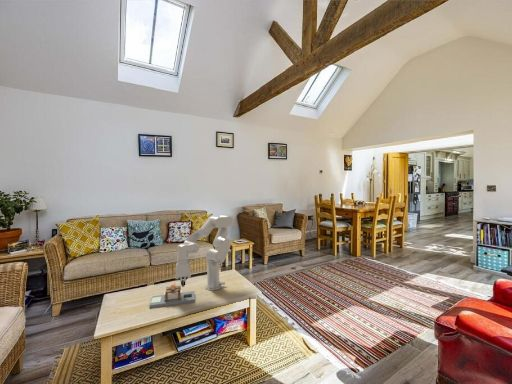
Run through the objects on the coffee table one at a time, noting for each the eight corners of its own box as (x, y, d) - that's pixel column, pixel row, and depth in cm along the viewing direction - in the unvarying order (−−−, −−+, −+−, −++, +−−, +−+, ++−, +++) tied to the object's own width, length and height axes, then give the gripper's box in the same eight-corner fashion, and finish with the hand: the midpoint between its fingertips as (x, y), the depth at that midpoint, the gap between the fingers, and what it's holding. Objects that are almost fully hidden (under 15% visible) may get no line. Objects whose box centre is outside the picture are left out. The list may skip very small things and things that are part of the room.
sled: (182, 294, 182) (181, 280, 181) (181, 298, 175) (181, 284, 175) (165, 296, 179) (164, 282, 178) (164, 300, 172) (163, 286, 172)
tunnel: (180, 294, 182) (180, 285, 182) (180, 299, 174) (180, 290, 174) (166, 295, 180) (166, 287, 180) (165, 301, 171) (165, 292, 171)
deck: (194, 293, 188) (194, 290, 187) (194, 302, 174) (194, 299, 174) (152, 298, 180) (152, 295, 180) (149, 308, 166) (149, 305, 166)
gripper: (193, 258, 183) (193, 283, 184) (172, 260, 179) (172, 285, 180) (193, 261, 176) (193, 287, 177) (171, 263, 172) (172, 289, 173)
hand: (183, 286), depth 178 cm, fingers closed
